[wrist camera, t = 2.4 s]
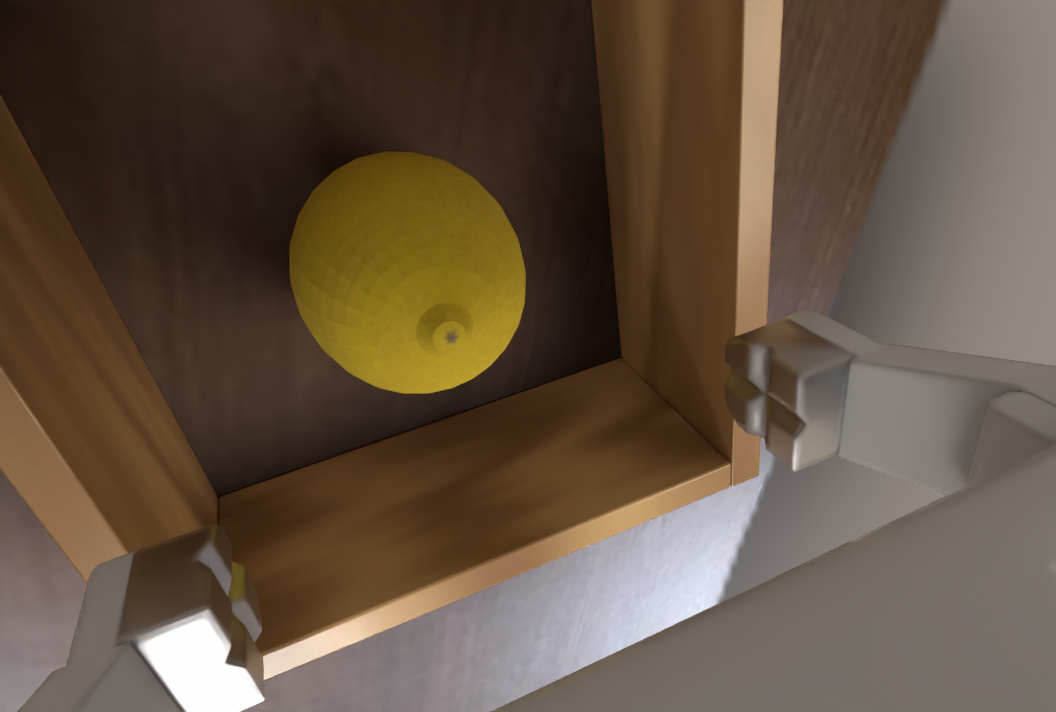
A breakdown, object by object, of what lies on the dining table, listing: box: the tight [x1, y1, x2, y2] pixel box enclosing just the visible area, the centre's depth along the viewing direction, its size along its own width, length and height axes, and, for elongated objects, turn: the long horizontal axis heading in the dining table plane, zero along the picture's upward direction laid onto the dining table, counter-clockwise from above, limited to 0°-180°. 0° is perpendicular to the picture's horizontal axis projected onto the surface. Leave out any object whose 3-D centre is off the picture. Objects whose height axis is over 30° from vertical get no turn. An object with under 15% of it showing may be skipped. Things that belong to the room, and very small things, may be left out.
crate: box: [0, 0, 783, 681], centre depth 17 cm, size 17×17×7 cm
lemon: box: [289, 151, 526, 393], centre depth 16 cm, size 6×6×8 cm
